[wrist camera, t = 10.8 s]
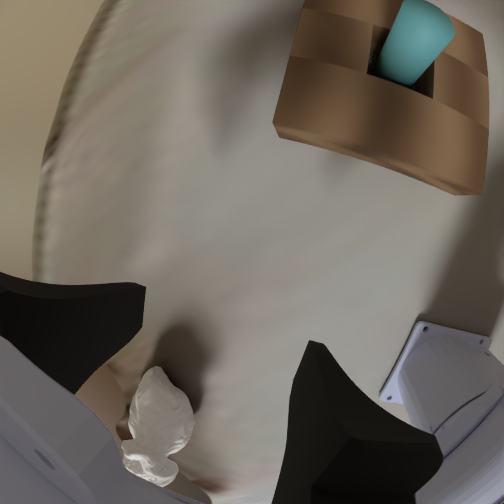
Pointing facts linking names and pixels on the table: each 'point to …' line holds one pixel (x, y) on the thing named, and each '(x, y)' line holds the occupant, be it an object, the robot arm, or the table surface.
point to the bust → (157, 428)
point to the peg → (413, 42)
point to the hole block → (387, 97)
